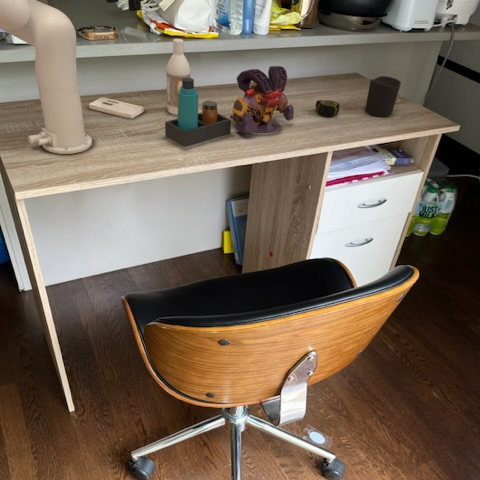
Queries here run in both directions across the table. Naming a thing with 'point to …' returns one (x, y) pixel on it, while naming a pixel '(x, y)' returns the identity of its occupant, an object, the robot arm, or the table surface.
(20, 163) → the table surface
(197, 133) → the cup holder
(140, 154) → the table surface
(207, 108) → the spice jar
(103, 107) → the phone case
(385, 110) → the pen holder
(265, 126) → the figurine
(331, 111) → the tape measure
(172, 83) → the bath foam
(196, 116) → the water bottle
